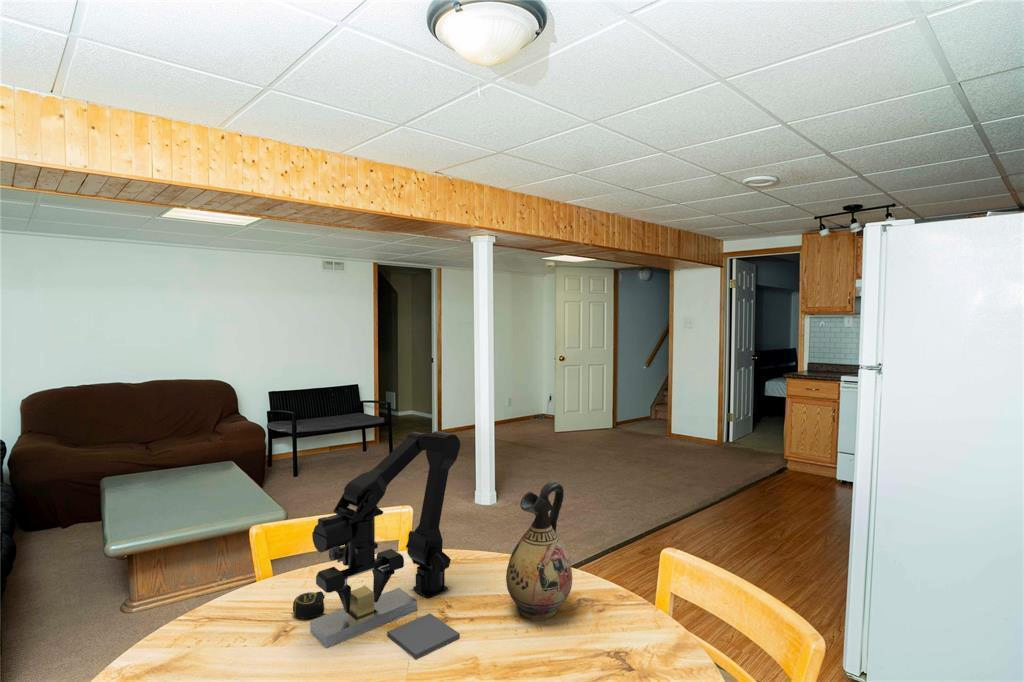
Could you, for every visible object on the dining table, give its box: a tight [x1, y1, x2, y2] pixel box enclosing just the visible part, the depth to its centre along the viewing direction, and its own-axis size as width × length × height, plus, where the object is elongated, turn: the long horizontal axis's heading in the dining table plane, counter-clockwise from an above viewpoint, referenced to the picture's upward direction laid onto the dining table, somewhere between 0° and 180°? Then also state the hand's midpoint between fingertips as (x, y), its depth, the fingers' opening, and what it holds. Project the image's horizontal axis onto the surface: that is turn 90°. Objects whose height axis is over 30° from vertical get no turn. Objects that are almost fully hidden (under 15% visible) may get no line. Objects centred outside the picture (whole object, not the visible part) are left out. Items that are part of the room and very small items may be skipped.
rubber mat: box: [386, 613, 461, 660], centre depth 118 cm, size 11×11×1 cm
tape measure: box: [292, 590, 326, 619], centre depth 127 cm, size 7×7×4 cm
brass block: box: [349, 585, 374, 620], centre depth 123 cm, size 4×4×7 cm
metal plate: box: [309, 587, 418, 649], centre depth 124 cm, size 22×8×2 cm, turn 133°
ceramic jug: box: [505, 481, 573, 621], centre depth 129 cm, size 17×15×30 cm
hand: (361, 607), depth 123 cm, fingers open, 7 cm apart
